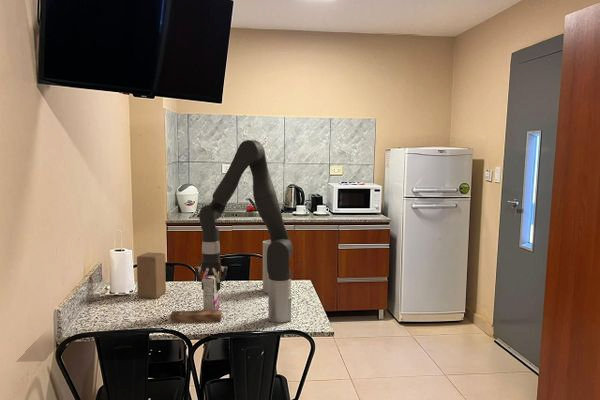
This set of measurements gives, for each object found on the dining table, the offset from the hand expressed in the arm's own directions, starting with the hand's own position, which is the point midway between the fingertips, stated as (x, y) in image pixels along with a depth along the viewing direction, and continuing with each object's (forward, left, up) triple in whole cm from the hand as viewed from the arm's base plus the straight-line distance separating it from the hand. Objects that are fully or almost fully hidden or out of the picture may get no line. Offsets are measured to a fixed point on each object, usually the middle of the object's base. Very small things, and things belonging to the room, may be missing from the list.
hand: (211, 290), depth 199 cm
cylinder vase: (-28, -31, -10) cm, 43 cm away
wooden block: (+31, -26, -10) cm, 41 cm away
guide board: (+5, +9, -10) cm, 14 cm away
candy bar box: (0, 0, -10) cm, 10 cm away
